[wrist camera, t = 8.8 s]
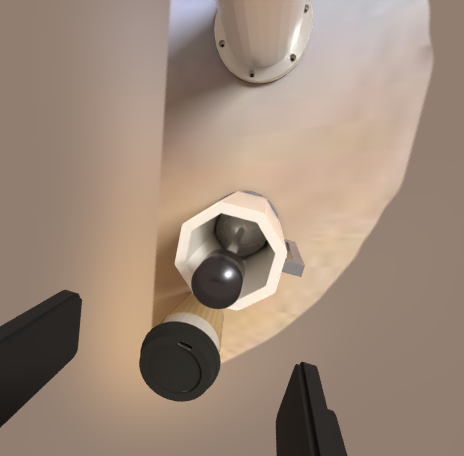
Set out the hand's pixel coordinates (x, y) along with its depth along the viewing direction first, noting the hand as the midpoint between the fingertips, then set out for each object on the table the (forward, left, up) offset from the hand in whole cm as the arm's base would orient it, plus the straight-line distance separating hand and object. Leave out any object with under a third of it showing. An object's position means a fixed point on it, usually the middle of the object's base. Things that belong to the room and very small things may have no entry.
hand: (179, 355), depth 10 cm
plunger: (0, 0, -26) cm, 26 cm away
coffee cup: (+15, -3, -29) cm, 33 cm away
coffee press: (0, 0, -29) cm, 29 cm away
